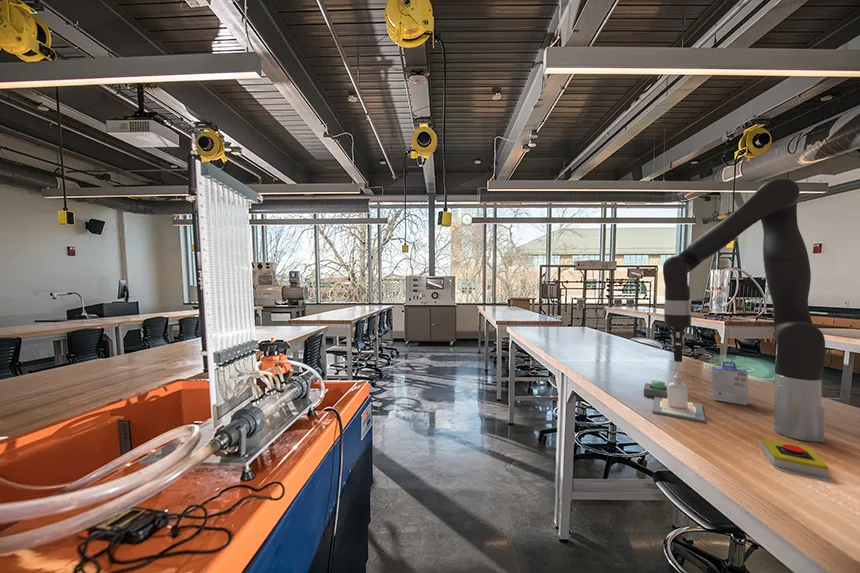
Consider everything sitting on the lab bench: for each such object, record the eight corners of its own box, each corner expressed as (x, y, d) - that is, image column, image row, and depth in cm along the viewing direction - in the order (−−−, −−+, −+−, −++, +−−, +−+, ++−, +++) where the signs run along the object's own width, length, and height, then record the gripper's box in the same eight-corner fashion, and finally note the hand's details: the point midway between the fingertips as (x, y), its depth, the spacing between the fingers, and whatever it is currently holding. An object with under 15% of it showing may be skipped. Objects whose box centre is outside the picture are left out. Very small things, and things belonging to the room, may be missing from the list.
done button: (664, 389, 132) (664, 381, 132) (664, 391, 129) (664, 384, 129) (651, 387, 135) (651, 379, 135) (651, 389, 131) (651, 382, 131)
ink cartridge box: (746, 401, 124) (746, 363, 124) (748, 406, 120) (748, 366, 120) (711, 396, 130) (711, 359, 130) (712, 400, 126) (712, 362, 126)
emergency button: (775, 453, 79) (758, 430, 91) (775, 471, 79) (758, 446, 91) (834, 465, 74) (807, 439, 86) (834, 484, 74) (807, 455, 86)
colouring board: (701, 406, 120) (701, 403, 120) (705, 422, 105) (705, 420, 105) (654, 398, 128) (654, 395, 128) (652, 412, 114) (652, 410, 114)
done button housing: (672, 394, 133) (672, 386, 133) (672, 400, 125) (672, 392, 125) (645, 390, 138) (645, 382, 138) (643, 396, 131) (643, 388, 131)
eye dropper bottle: (686, 410, 113) (686, 375, 113) (666, 406, 117) (666, 372, 117) (688, 407, 116) (688, 373, 116) (668, 403, 120) (668, 370, 120)
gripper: (691, 315, 109) (692, 364, 109) (690, 312, 120) (690, 356, 120) (663, 314, 113) (664, 361, 113) (664, 311, 125) (665, 354, 125)
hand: (677, 359), depth 117 cm, fingers open, 8 cm apart
